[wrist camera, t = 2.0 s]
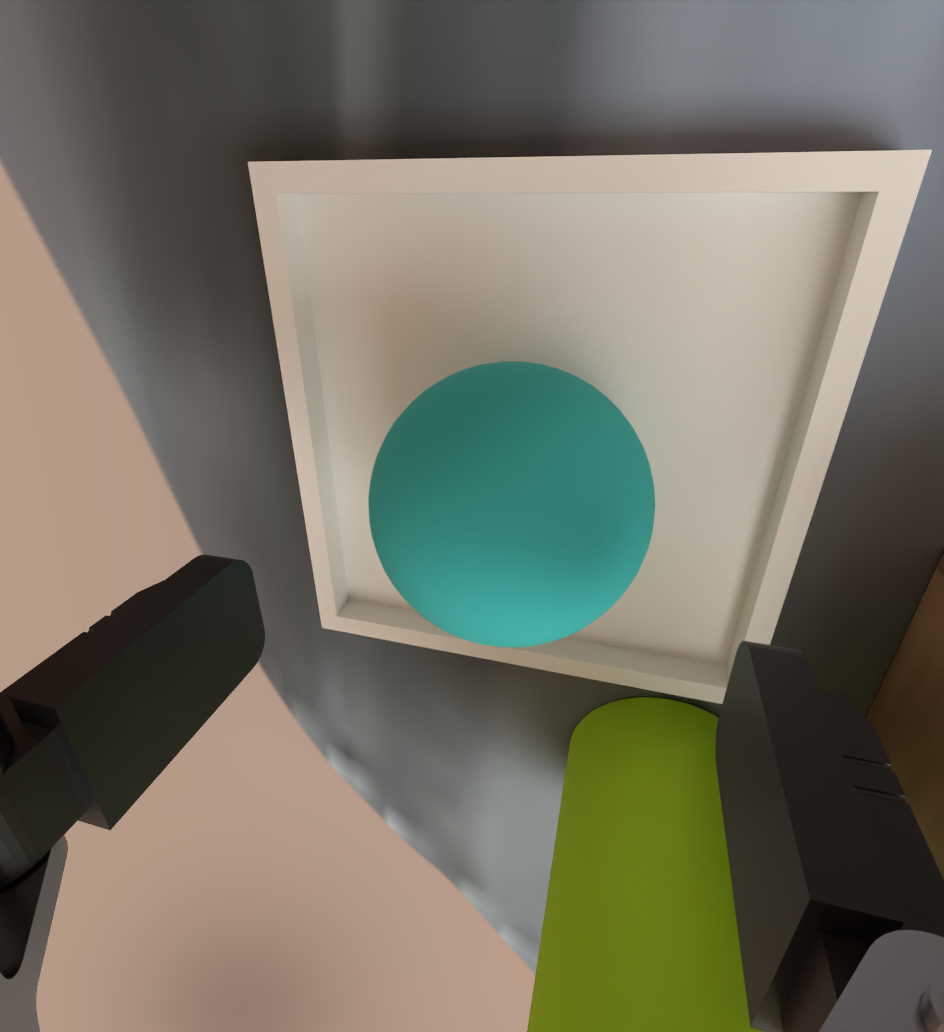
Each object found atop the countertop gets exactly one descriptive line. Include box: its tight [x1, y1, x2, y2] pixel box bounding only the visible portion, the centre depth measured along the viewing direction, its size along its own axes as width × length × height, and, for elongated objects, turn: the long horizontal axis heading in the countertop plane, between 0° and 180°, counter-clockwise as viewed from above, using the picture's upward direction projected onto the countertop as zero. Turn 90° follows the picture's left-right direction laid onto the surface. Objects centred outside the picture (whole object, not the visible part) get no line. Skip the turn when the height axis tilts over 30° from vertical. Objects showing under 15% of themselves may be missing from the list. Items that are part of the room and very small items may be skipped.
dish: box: [248, 150, 932, 704], centre depth 15 cm, size 13×13×1 cm
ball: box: [368, 361, 655, 648], centre depth 12 cm, size 6×6×6 cm
